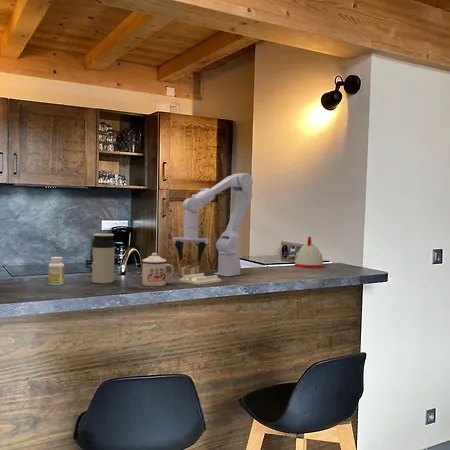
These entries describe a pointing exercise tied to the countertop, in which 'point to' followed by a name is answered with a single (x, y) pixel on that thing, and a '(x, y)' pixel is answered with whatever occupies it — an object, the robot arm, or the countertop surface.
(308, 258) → the kitchen timer
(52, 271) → the supplement bottle
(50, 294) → the countertop surface
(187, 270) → the frame
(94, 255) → the travel mug
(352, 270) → the countertop surface
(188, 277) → the cream flat piece
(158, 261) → the teacup with lid
